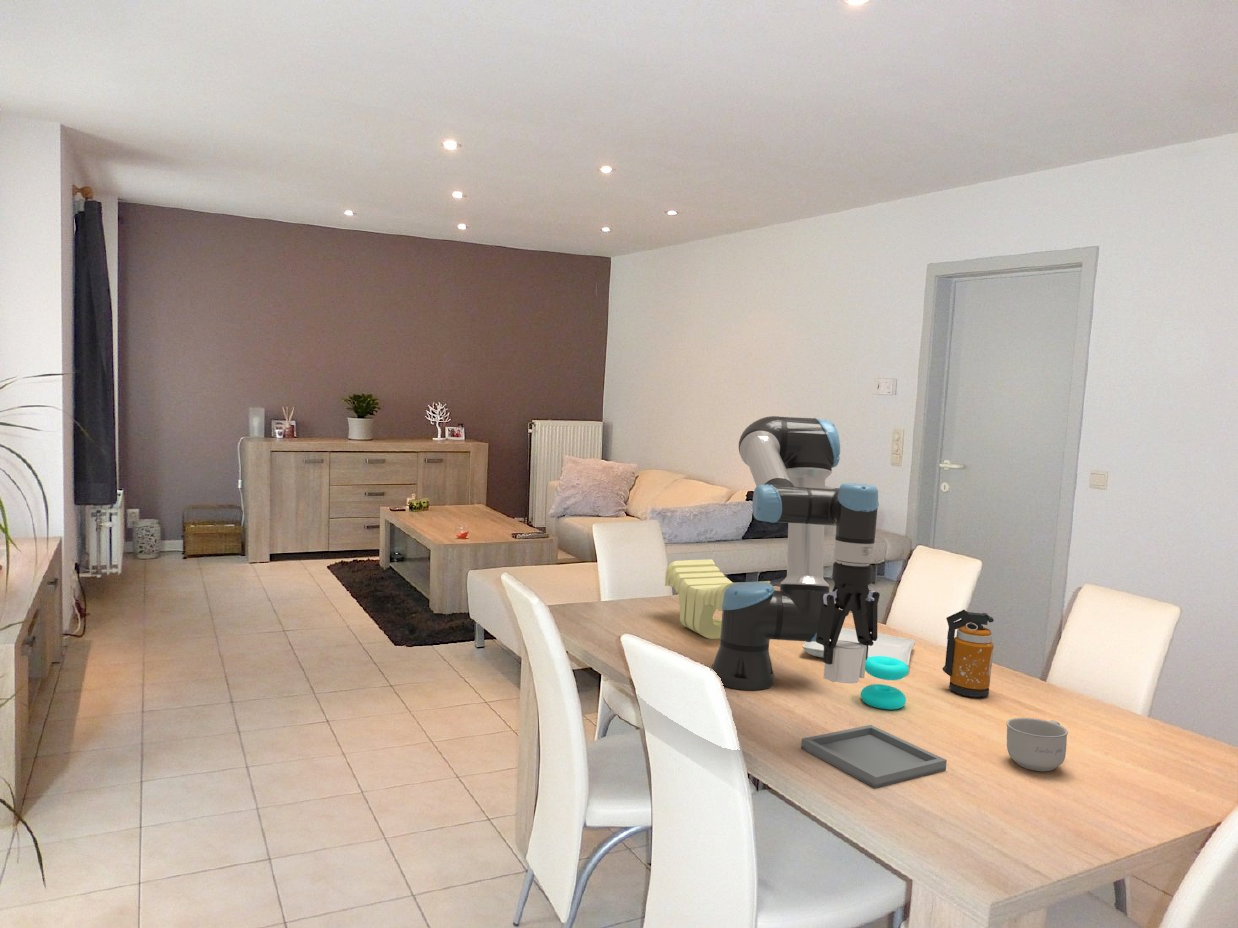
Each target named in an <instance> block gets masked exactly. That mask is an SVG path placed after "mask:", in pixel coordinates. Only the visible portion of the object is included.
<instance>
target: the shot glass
mask: <svg viewBox="0 0 1238 928" xmlns="http://www.w3.org/2000/svg"><path fill="white" fill-rule="evenodd" d="M835 648H838V649H839V651H838V664H837V676H836V682H835V683H837V682H838V683H841V684H857V683H858V682H859V679H860V678H859V675H860V669H861V664H862V658H863V652H864V646H863V645H861V644H858V643H855V642H850V641H842V640H838V641H837V643H836V646H835Z"/></svg>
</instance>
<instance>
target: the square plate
mask: <svg viewBox="0 0 1238 928" xmlns="http://www.w3.org/2000/svg"><path fill="white" fill-rule="evenodd" d="M870 633H871V632H870ZM838 640H842V641H850V642H858V640H857V635H856V630H855V628H847V627H842V629H841V632H840V635H839V638H838ZM830 641H831V639H830ZM873 642H874V643H873V645H872V646H868V657H872V656H886V657H892V658H896V659H899V660H901V661H903V662H904V663H906V664H907V666H908V667H909V665H910V661H911V655H912V651H913V648H914V646H915V644H916V640H915V639H913V638H906V637H903V636H902V637H901V636H895V635H891V634H885V633H880V632H877V640H876V641H873ZM858 643H859V642H858ZM802 649H803V650H804V651H805V652H806V654H809V656H810V655H811V656H813V657H816V658H817V657H818V658H821V659H823V653H824V646H823V645H821V644H819V643H817V642H806V641H804V643H803V645H802ZM868 657H867V658H868Z"/></svg>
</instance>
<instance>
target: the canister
mask: <svg viewBox="0 0 1238 928" xmlns="http://www.w3.org/2000/svg"><path fill="white" fill-rule="evenodd" d="M945 619H946V621H947V622H946V623H947V626H948V631H947V638H946V639H947V641H946V642H947V643H946V649H945V650H946V652H945V653H946V654H945V662H944V665H943V667H942V669H941V670H942V671H943V673H945V674H947V675H948V676H949V683H948V684H949V685H948V686H949V687H948V688H949V690H952V691H953V692H955V693H957V694H958V695H960V694H961V695H960V696H963V695H964V697H968V696H969V698H981V696H982V697H986V696H988V695H989V694H990V685H991V677H992V676H991V674H992V666H993V655H994V645H995V644H994V643H993V641H992V640H993V639H992V638H993V633H992V631H991V629H989V628H987V627H984V626H988V623H994V621H995V620H994V618H993V616H990V615H989V614H988V613H987V612H972V611H971V612H970V611H967V610H966V609H962V610H960V611H958V612H956V613H954V614H951V615H949V616H947V617H946V618H945ZM955 635H956V636H955Z"/></svg>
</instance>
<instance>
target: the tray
mask: <svg viewBox="0 0 1238 928" xmlns="http://www.w3.org/2000/svg"><path fill="white" fill-rule="evenodd" d="M800 748H801V750H804V751H805V752H807V753H809V754H811V755H812V756H815V757H817V758H818V759H819V760H822V761H824V762H826V763H827V764H829V765H831V766H834V768H837V769H839V770H840V771H842V772H844V773H846V774H848V775H849V776H851V777H853V778H855V779H857V780H858V781H861V782H863V783H864V784H866V785H868V786H870V787H872V788H874V789H877V788H881V787H885V786H886V787H887V786H889V785H894V784H898V783H901V782H902V783H903V782H905V781H908V780H912V779H917V778H921V777H925V776H929V775H933V774H936V773H941V772H945V771H946V770H947V761H948V760H947V759H945V758H944V757H941V756H939V755H937V754H934V753H933V752H931V751H928V750H926V749H924V748H922V747H919V746H918V745H915V744H913V743H911V742H909V741H907V740H904V739H902V738H900V737H897V736H896V735H894V734H891V733H890V732H888V731H886V730H883V729H881V728H879V727H877V726H875V725H872V724H867V725H863V726H858V727H853V728H848V729H843V730H838V731H834V732H833V731H832V732H827V733H823V734H818V735H813V736H808V737H803V738H801V747H800Z"/></svg>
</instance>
